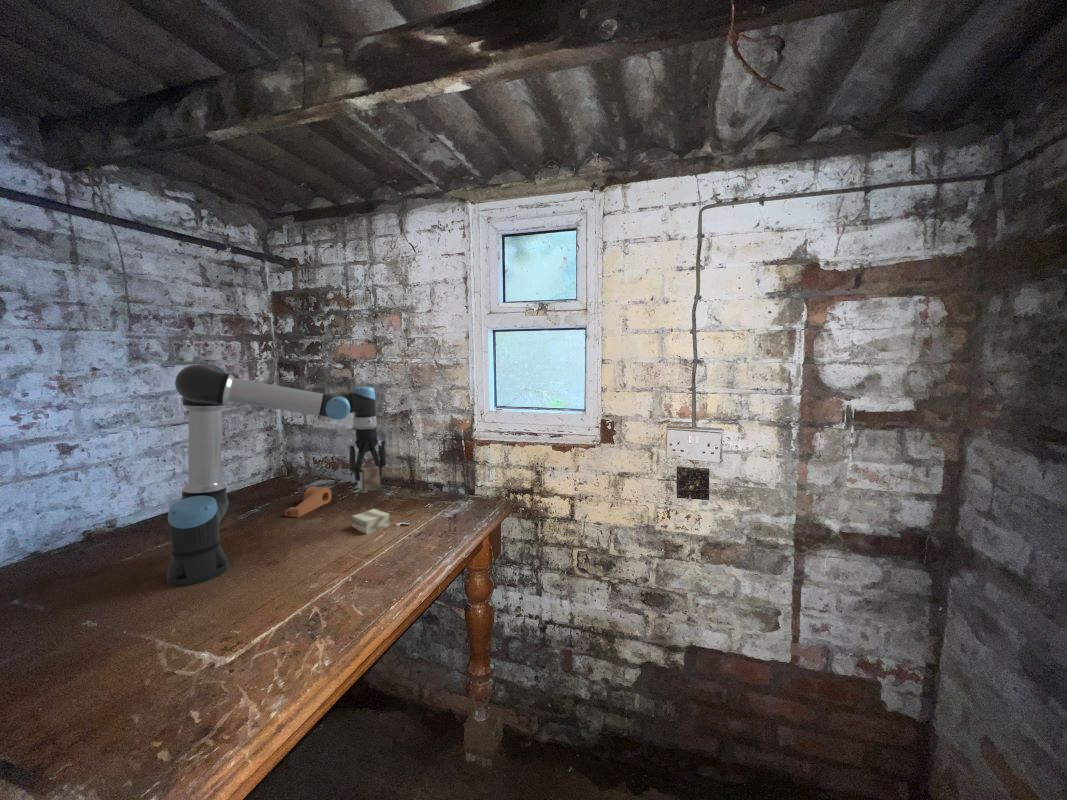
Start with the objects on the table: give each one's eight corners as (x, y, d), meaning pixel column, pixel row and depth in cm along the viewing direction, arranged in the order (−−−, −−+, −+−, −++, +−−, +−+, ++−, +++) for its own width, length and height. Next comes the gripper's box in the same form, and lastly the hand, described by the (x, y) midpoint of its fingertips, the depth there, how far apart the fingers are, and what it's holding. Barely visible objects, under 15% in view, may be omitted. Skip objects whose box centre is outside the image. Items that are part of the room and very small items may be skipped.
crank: (317, 501, 197) (316, 484, 196) (332, 502, 195) (331, 485, 194) (282, 517, 178) (281, 498, 177) (298, 519, 176) (297, 500, 175)
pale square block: (366, 534, 160) (366, 522, 160) (352, 528, 166) (351, 516, 166) (390, 526, 168) (389, 513, 168) (375, 520, 174) (374, 508, 174)
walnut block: (364, 490, 161) (363, 470, 161) (358, 487, 166) (357, 467, 165) (380, 487, 166) (379, 467, 165) (373, 484, 170) (372, 464, 169)
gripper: (344, 431, 154) (348, 494, 156) (394, 425, 167) (396, 483, 170) (336, 429, 159) (340, 490, 162) (385, 423, 172) (387, 479, 175)
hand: (369, 486), depth 166 cm, fingers closed on walnut block, 6 cm apart
